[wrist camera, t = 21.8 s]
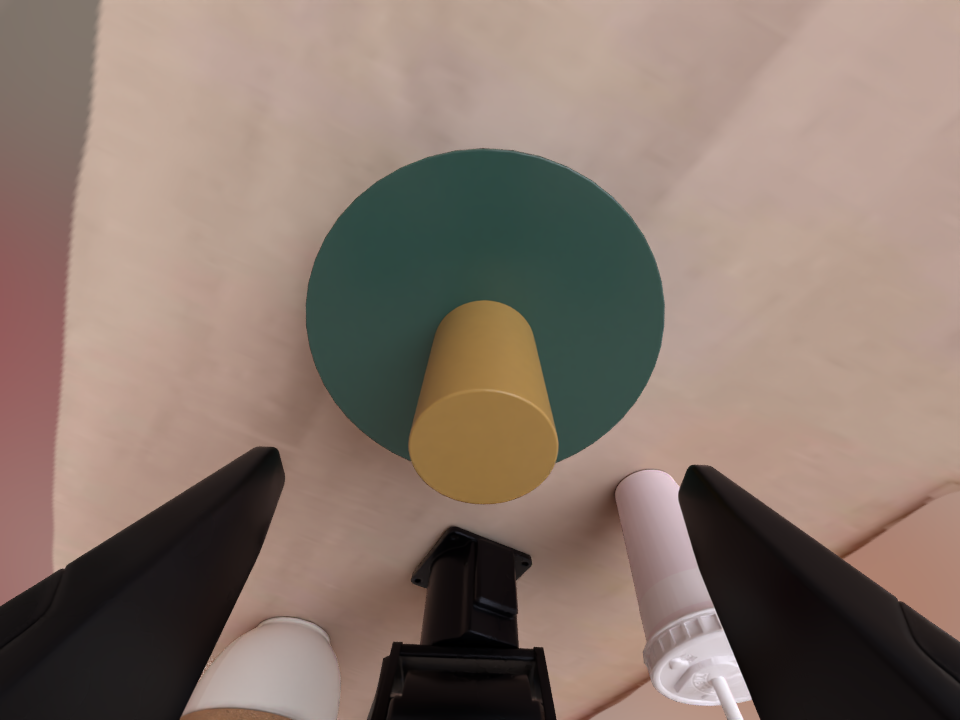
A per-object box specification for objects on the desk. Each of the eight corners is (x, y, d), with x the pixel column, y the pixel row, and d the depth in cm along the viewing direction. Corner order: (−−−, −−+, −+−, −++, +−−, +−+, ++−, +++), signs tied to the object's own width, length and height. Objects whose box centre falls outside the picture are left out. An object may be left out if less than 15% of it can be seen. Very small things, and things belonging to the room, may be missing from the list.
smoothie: (574, 484, 25) (666, 824, 13) (671, 434, 23) (892, 777, 11) (622, 539, 27) (739, 866, 15) (714, 498, 26) (932, 834, 13)
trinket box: (287, 679, 38) (232, 831, 29) (198, 621, 33) (103, 783, 25) (383, 651, 35) (351, 810, 27) (300, 585, 30) (231, 751, 22)
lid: (532, 495, 20) (551, 645, 14) (275, 385, 17) (164, 516, 11) (729, 274, 14) (896, 369, 8) (401, 54, 11) (312, -28, 6)
